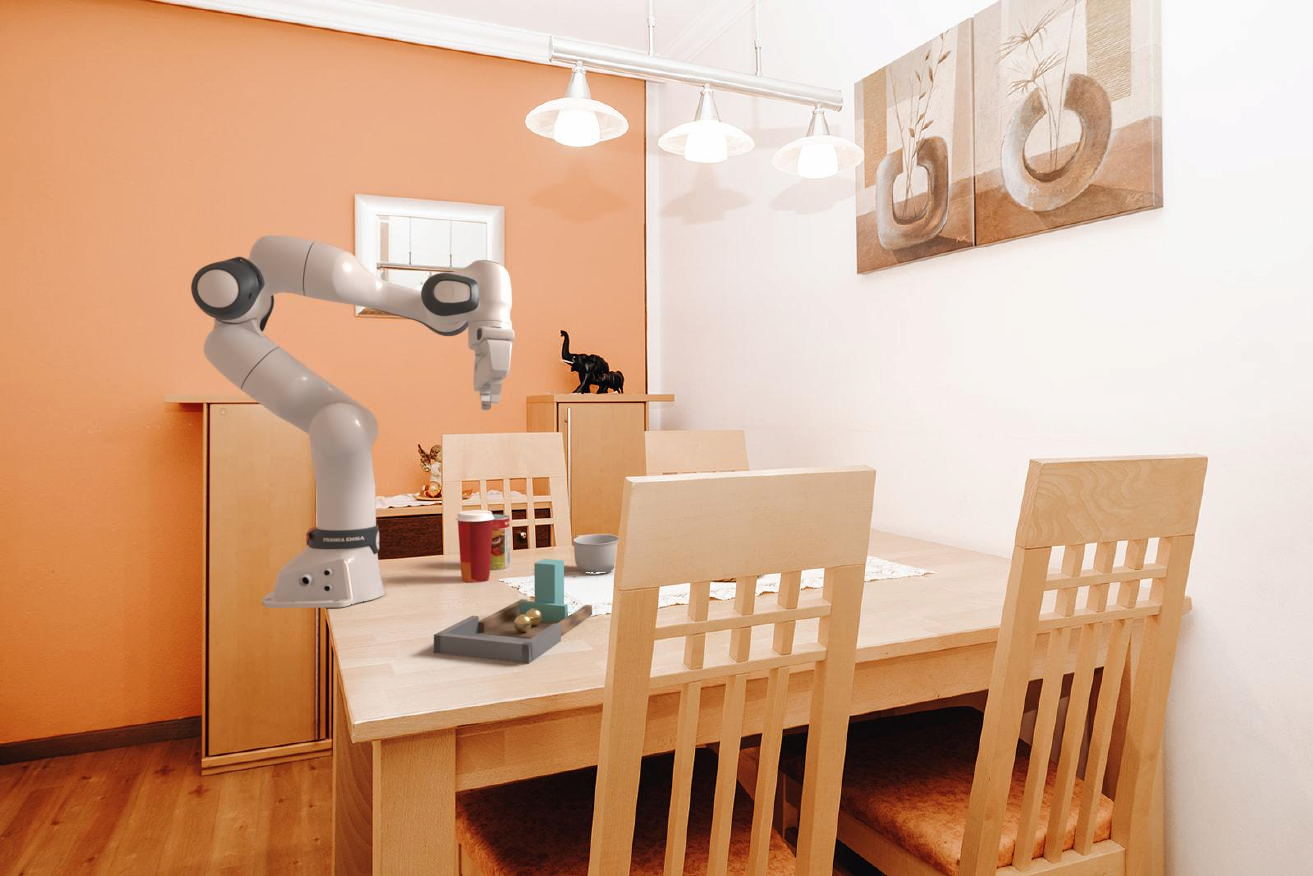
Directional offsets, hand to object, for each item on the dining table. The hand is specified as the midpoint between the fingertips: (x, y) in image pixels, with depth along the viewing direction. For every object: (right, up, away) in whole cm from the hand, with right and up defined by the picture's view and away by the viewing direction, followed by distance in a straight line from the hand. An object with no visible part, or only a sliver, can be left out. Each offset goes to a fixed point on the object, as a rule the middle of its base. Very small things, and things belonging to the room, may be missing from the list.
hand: (490, 406), depth 157 cm
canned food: (-5, -38, +28) cm, 47 cm away
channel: (+13, -40, -20) cm, 46 cm away
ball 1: (+11, -40, -26) cm, 48 cm away
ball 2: (+12, -39, -22) cm, 47 cm away
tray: (+9, -40, -33) cm, 53 cm away
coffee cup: (-6, -38, +14) cm, 41 cm away
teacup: (+19, -38, +24) cm, 49 cm away
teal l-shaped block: (+14, -39, -16) cm, 44 cm away
